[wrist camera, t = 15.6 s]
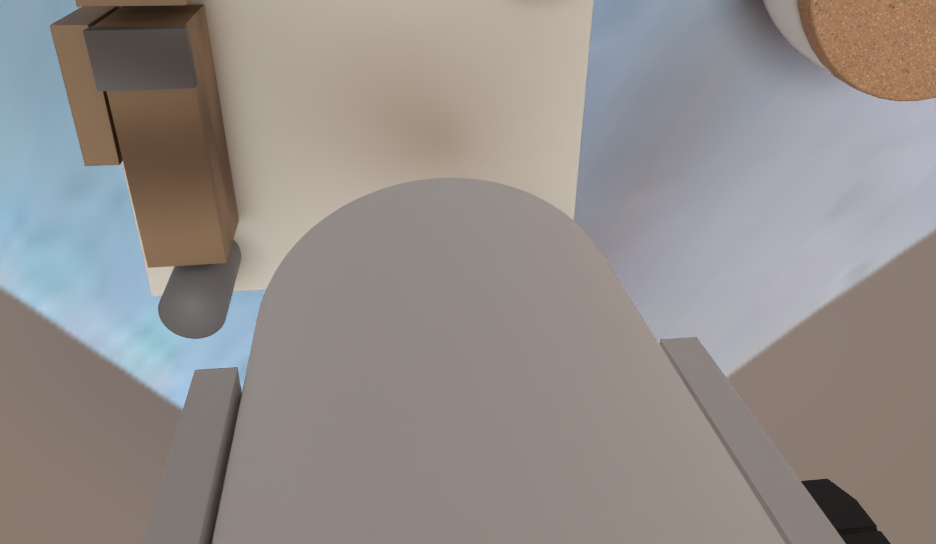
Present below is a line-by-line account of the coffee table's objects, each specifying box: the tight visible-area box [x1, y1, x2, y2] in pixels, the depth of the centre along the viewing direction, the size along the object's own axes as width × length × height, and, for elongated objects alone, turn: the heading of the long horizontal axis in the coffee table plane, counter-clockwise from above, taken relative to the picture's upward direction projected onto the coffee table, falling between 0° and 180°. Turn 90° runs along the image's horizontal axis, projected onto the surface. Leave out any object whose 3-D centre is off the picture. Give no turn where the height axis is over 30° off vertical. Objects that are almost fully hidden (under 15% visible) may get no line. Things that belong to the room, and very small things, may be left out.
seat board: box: [50, 0, 594, 339], centre depth 30 cm, size 17×20×6 cm
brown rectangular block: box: [83, 4, 239, 268], centre depth 29 cm, size 9×3×5 cm, turn 0°
